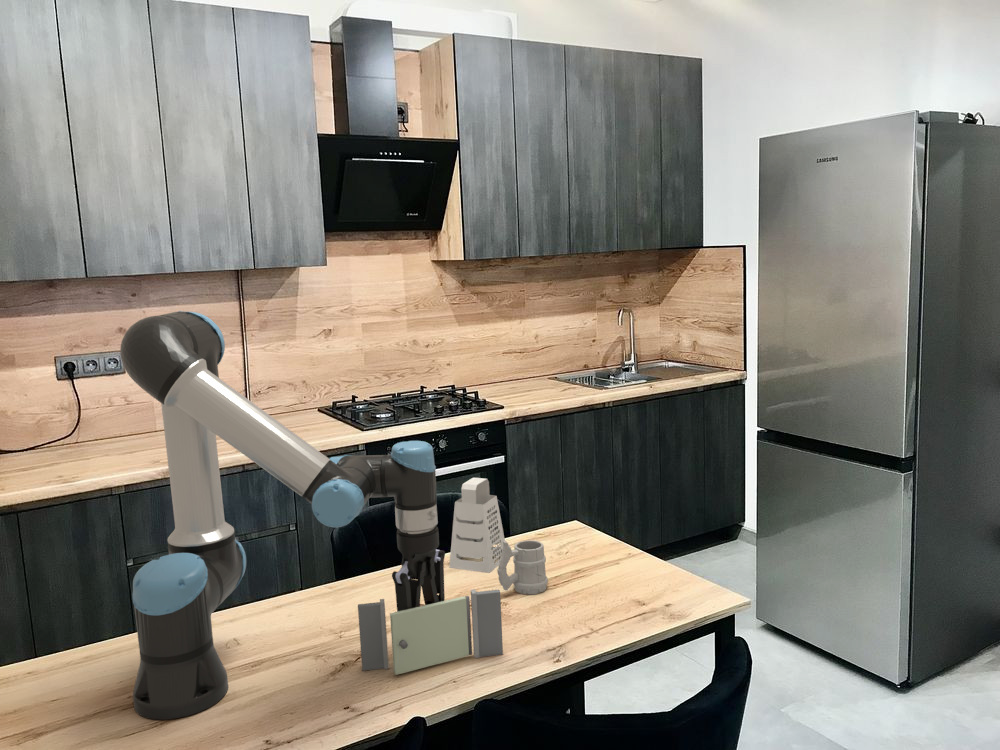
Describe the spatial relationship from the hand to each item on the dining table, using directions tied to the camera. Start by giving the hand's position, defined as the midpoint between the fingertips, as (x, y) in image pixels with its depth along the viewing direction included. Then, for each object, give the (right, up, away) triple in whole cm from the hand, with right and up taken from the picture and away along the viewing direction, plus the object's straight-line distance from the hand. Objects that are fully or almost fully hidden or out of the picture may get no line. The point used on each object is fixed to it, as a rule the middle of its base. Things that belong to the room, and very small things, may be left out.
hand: (424, 648), depth 153 cm
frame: (+2, -2, -2) cm, 3 cm away
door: (+2, -1, -5) cm, 5 cm away
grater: (+9, +6, +45) cm, 46 cm away
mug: (+19, +3, +27) cm, 34 cm away
